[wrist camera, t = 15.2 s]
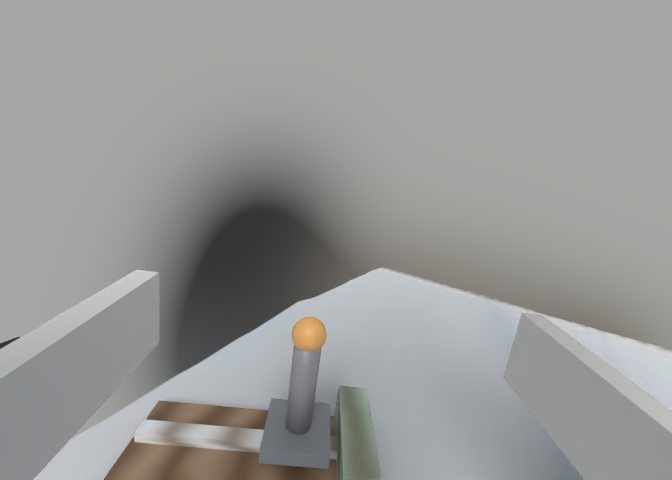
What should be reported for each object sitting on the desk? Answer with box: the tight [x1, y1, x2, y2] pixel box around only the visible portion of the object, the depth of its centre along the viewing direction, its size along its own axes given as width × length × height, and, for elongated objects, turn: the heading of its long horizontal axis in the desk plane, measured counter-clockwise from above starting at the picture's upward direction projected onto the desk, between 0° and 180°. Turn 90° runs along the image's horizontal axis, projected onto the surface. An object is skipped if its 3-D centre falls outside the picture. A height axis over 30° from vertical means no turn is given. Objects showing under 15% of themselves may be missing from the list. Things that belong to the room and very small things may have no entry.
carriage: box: [258, 317, 330, 469], centre depth 40 cm, size 8×8×18 cm
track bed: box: [104, 386, 381, 480], centre depth 41 cm, size 30×14×6 cm, turn 91°
